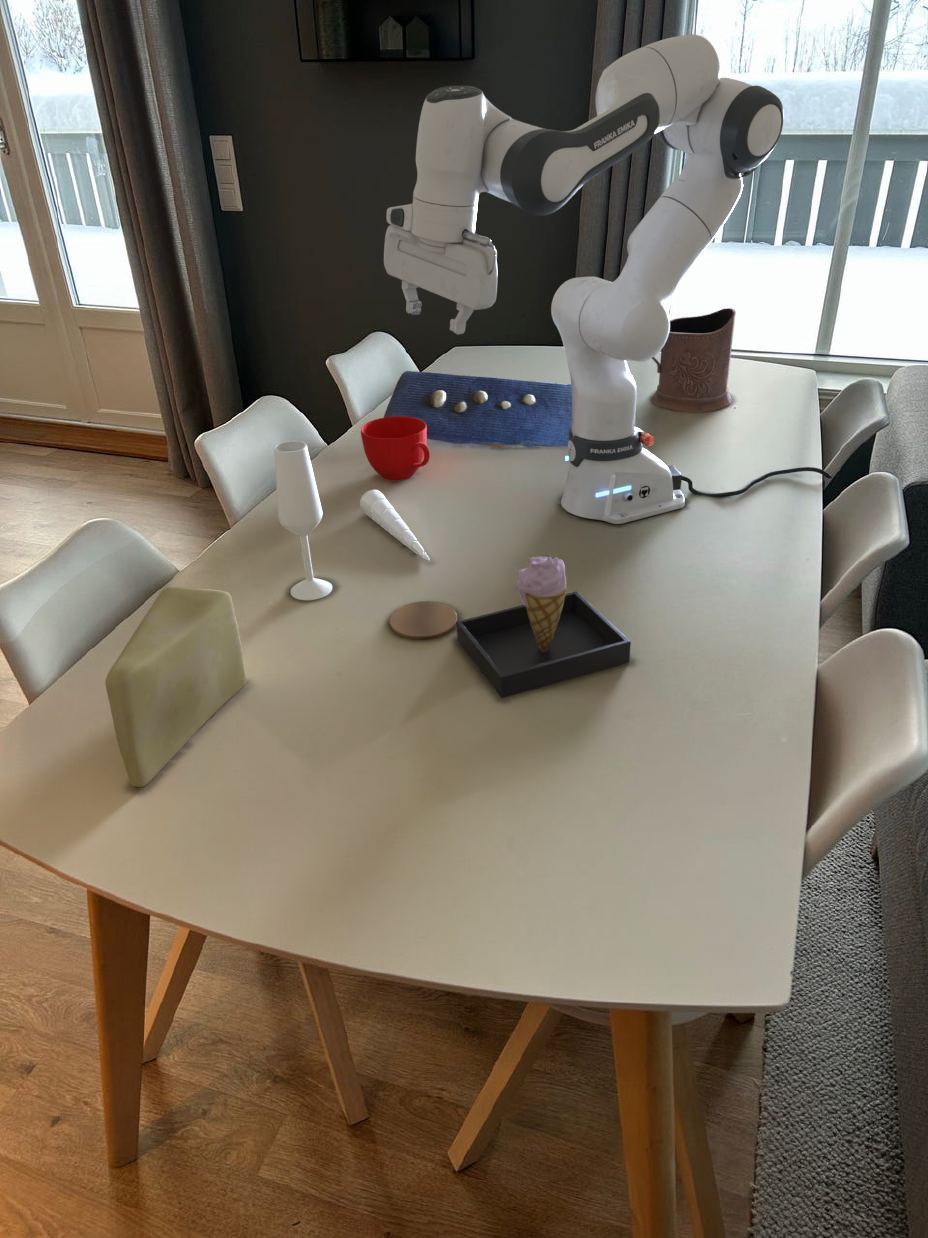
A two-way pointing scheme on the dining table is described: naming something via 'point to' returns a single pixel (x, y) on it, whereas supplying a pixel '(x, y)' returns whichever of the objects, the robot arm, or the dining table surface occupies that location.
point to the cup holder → (696, 363)
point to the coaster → (423, 620)
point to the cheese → (173, 676)
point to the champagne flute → (299, 509)
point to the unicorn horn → (389, 520)
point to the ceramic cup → (395, 446)
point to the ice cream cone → (543, 596)
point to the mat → (485, 409)
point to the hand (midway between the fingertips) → (434, 322)
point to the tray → (516, 659)
